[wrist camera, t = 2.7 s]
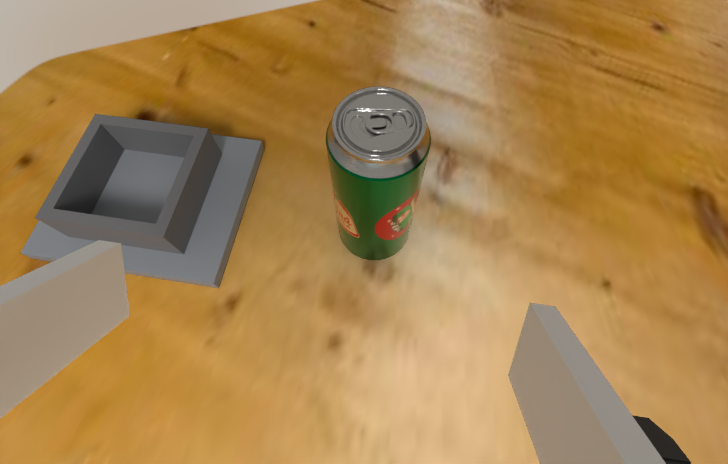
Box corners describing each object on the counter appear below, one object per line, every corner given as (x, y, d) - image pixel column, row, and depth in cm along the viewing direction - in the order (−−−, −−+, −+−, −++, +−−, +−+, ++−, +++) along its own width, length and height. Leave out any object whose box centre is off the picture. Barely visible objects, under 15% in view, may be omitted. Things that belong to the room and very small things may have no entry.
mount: (264, 148, 31) (251, 114, 28) (218, 287, 26) (195, 269, 23) (104, 127, 32) (71, 92, 29) (32, 258, 27) (-19, 235, 24)
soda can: (336, 205, 29) (319, 85, 18) (401, 197, 29) (423, 74, 19) (343, 267, 27) (328, 173, 16) (413, 258, 27) (445, 160, 16)
